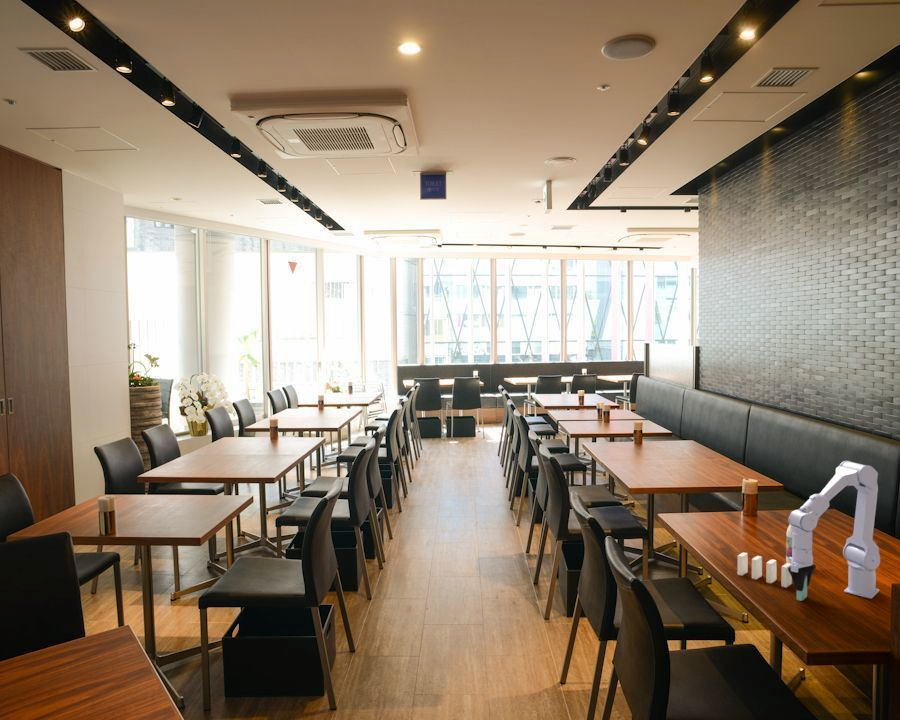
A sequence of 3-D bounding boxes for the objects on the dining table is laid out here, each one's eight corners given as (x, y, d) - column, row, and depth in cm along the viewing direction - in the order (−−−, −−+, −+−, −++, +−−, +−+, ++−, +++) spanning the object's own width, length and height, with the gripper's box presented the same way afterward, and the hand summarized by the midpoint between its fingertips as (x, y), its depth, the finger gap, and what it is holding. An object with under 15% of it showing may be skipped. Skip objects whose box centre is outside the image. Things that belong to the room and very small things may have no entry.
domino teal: (801, 595, 206) (802, 574, 206) (807, 596, 205) (807, 575, 205) (796, 599, 203) (796, 578, 203) (801, 601, 202) (801, 579, 202)
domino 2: (757, 574, 225) (757, 555, 224) (761, 575, 223) (761, 556, 223) (751, 578, 221) (751, 559, 221) (756, 579, 220) (756, 560, 220)
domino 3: (771, 578, 221) (771, 559, 221) (776, 579, 220) (776, 560, 220) (766, 582, 218) (766, 562, 217) (771, 583, 216) (771, 563, 216)
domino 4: (786, 582, 217) (786, 562, 217) (791, 583, 216) (791, 564, 216) (781, 586, 214) (781, 566, 214) (786, 587, 213) (786, 567, 212)
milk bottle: (805, 561, 237) (806, 510, 236) (811, 568, 230) (812, 515, 229) (783, 559, 239) (784, 508, 238) (788, 566, 232) (789, 514, 231)
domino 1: (743, 570, 228) (743, 552, 228) (747, 572, 227) (747, 553, 227) (737, 574, 225) (737, 555, 225) (741, 575, 224) (742, 556, 224)
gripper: (797, 539, 211) (796, 578, 212) (780, 549, 202) (780, 590, 202) (819, 544, 206) (819, 584, 207) (804, 554, 196) (804, 596, 197)
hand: (801, 587), depth 204 cm, fingers closed on domino teal, 5 cm apart
